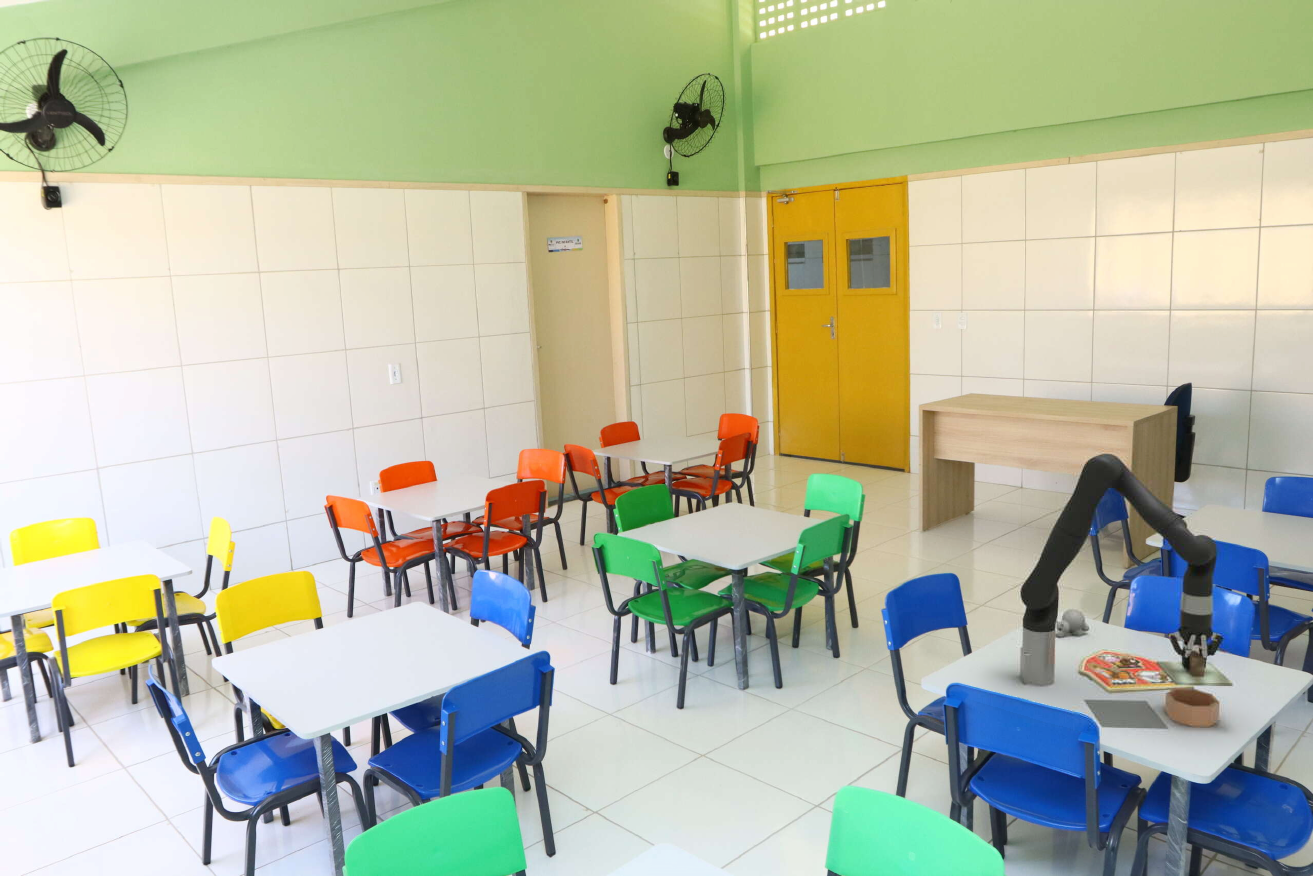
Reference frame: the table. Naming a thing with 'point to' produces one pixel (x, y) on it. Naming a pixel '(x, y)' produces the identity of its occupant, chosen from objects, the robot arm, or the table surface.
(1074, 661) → the table surface
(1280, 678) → the table surface
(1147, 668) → the knob puzzle
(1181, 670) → the lid
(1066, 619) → the round bodied animal figurine
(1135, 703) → the mat
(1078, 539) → the robot arm
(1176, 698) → the bowl
